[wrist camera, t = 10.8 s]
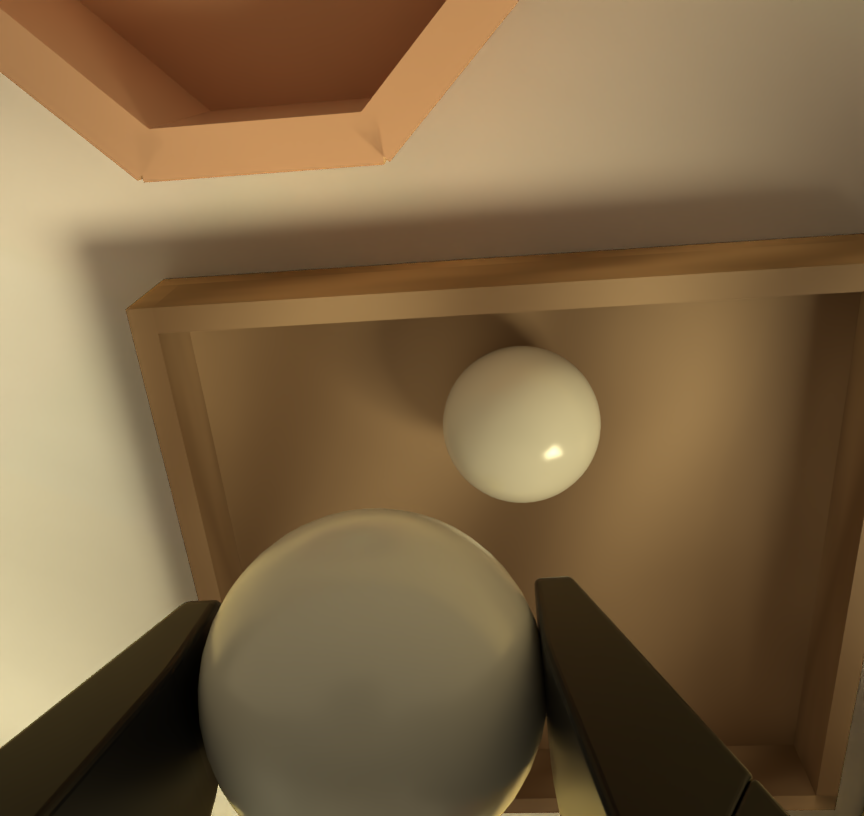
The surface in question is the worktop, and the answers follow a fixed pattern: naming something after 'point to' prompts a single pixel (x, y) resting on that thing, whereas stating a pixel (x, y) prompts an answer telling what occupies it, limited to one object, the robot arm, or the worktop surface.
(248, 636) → the pebble
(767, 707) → the tray
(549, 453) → the pebble
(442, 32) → the bowl
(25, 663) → the worktop surface
